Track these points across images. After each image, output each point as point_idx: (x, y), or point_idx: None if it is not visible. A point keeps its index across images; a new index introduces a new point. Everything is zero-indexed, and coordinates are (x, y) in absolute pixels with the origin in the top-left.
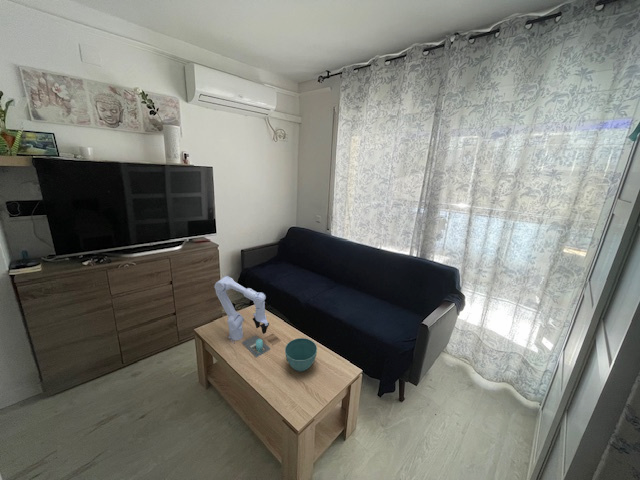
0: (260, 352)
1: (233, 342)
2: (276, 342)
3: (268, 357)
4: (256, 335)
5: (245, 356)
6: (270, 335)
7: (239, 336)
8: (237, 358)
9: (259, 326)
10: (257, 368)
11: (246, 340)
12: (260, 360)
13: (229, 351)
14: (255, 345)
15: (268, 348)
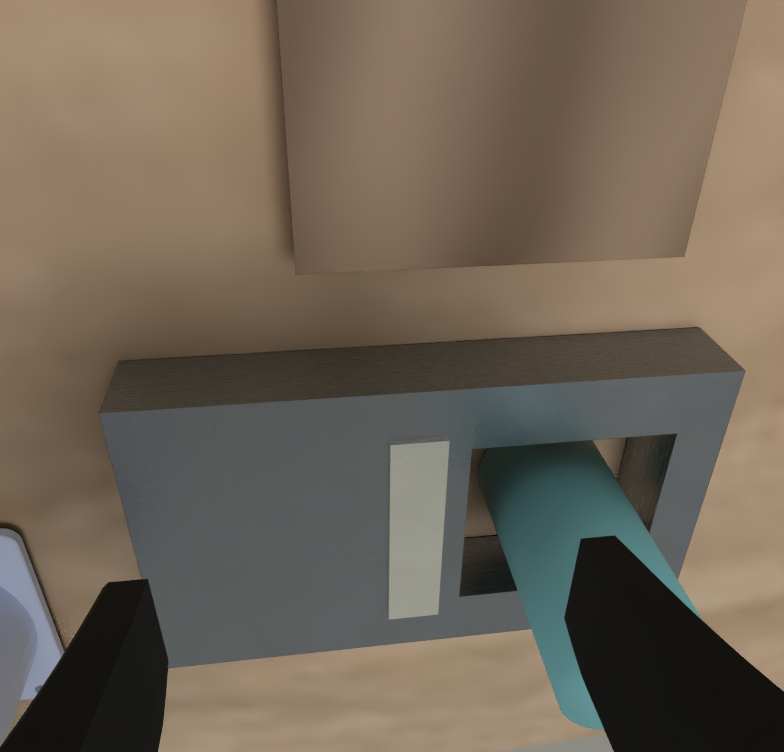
0: (665, 544)
1: (28, 698)
2: (688, 115)
3: (768, 417)
4: (120, 412)
5: (456, 637)
6: (315, 71)
7: (3, 719)
8: (410, 708)
9: (146, 610)
10: (769, 596)
11: (169, 611)
12: (701, 525)
13: (201, 745)
14: (443, 550)
15: (718, 402)
